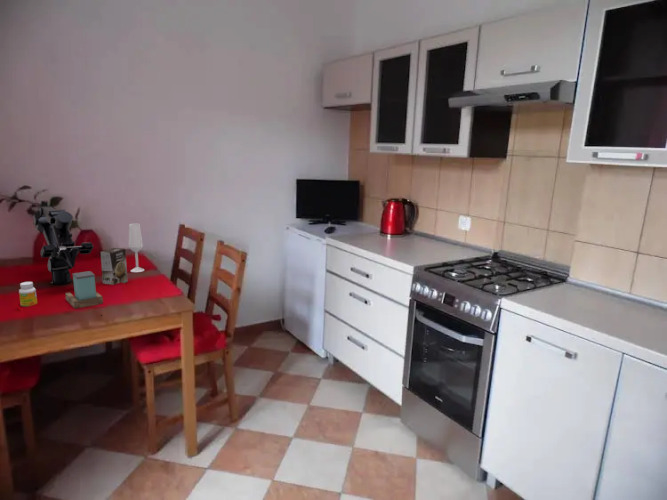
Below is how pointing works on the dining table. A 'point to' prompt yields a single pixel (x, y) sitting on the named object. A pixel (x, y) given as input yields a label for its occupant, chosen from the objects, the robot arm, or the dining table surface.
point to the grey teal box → (84, 285)
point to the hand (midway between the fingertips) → (72, 266)
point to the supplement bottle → (27, 294)
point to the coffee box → (114, 266)
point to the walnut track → (83, 301)
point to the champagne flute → (135, 243)
